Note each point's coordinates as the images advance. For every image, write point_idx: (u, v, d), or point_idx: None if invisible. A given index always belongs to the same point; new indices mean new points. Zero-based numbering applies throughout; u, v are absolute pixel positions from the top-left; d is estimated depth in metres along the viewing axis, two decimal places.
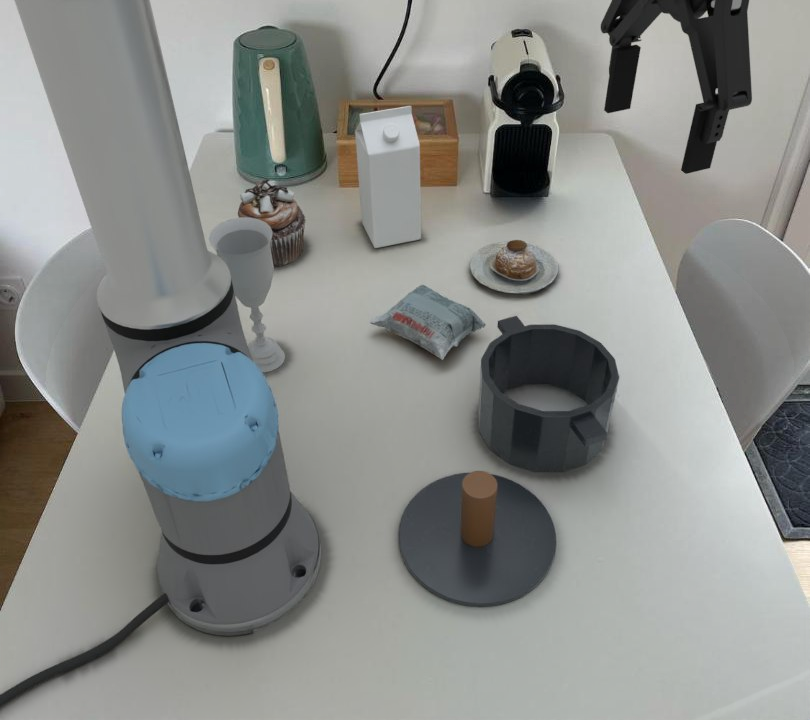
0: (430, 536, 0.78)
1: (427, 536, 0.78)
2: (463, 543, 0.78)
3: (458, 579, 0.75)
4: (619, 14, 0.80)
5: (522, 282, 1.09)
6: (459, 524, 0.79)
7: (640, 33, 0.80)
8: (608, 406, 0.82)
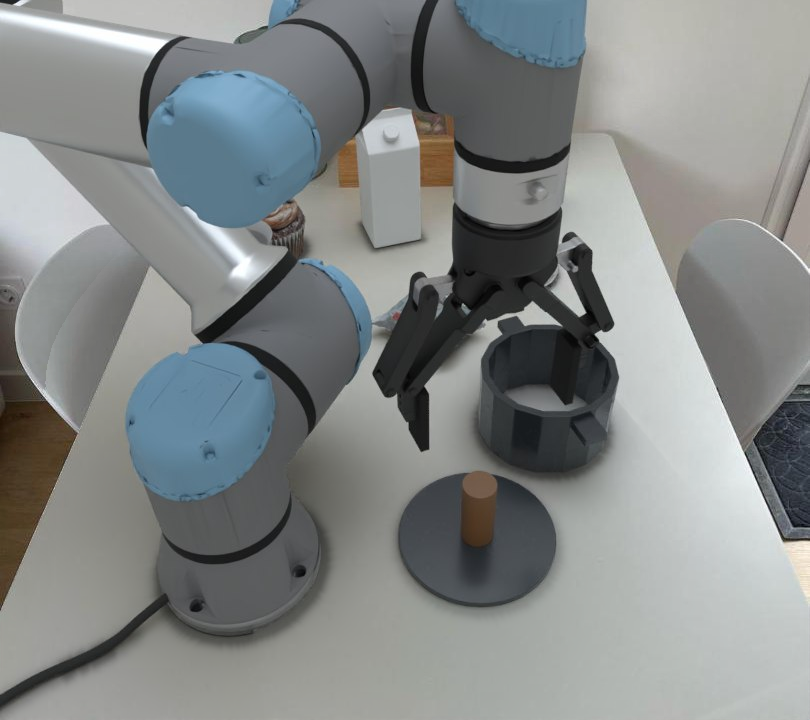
0: (430, 536, 0.78)
1: (427, 536, 0.78)
2: (463, 543, 0.78)
3: (458, 579, 0.75)
4: (583, 302, 0.66)
5: None
6: (459, 524, 0.79)
7: (571, 332, 0.65)
8: (608, 406, 0.82)
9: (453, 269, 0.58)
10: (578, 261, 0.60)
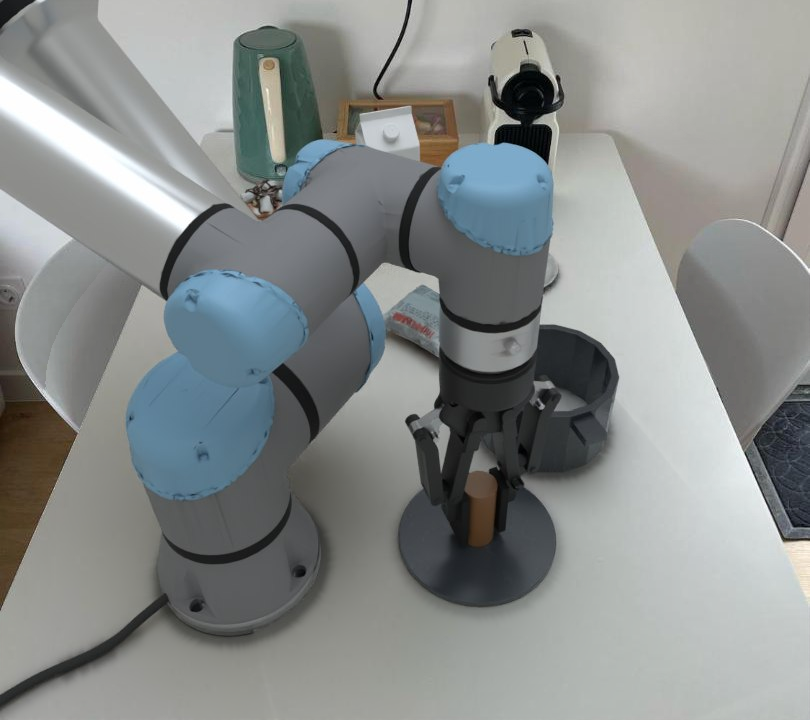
0: (430, 536, 0.78)
1: (427, 536, 0.78)
2: None
3: (458, 579, 0.75)
4: (521, 441, 0.73)
5: None
6: None
7: (505, 469, 0.72)
8: (608, 406, 0.82)
9: (440, 398, 0.65)
10: (547, 401, 0.67)
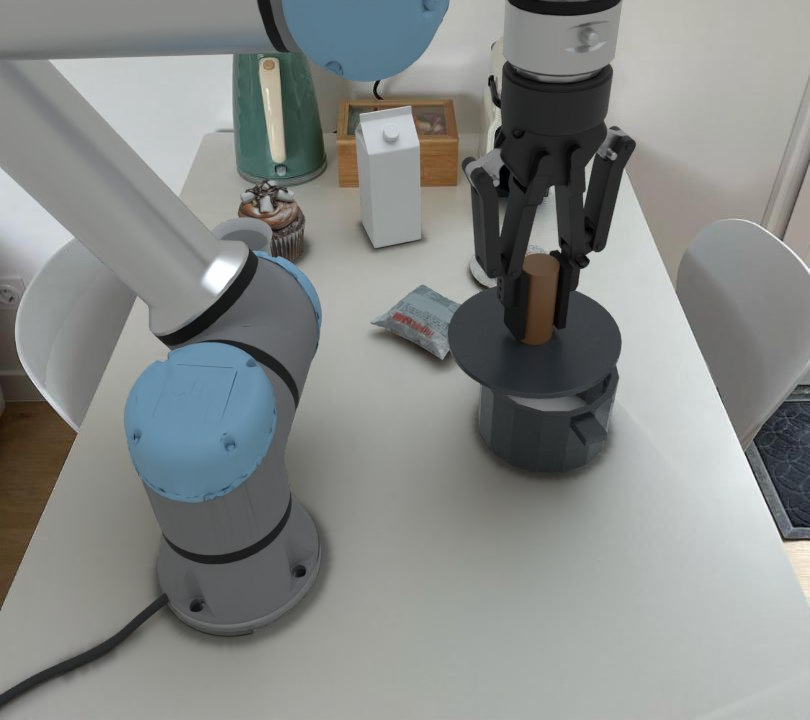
0: (482, 336, 0.72)
1: (479, 336, 0.72)
2: (519, 342, 0.71)
3: (514, 373, 0.68)
4: (587, 213, 0.66)
5: None
6: None
7: (569, 242, 0.65)
8: (608, 406, 0.82)
9: (501, 134, 0.58)
10: (619, 149, 0.60)
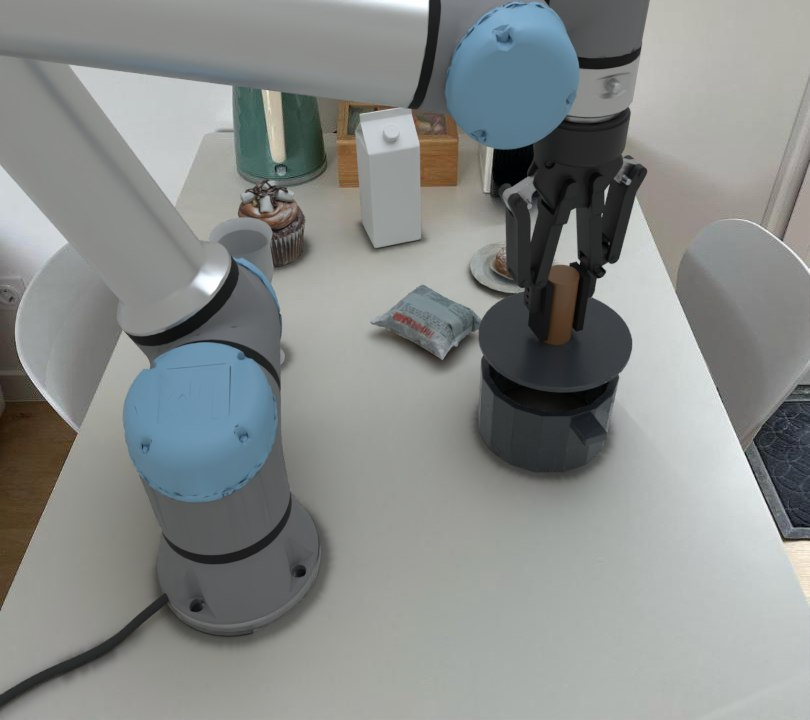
0: (509, 337, 0.81)
1: (506, 337, 0.81)
2: (542, 342, 0.80)
3: (540, 370, 0.77)
4: (603, 230, 0.75)
5: None
6: None
7: (588, 255, 0.74)
8: (608, 406, 0.82)
9: (534, 164, 0.67)
10: (633, 176, 0.70)
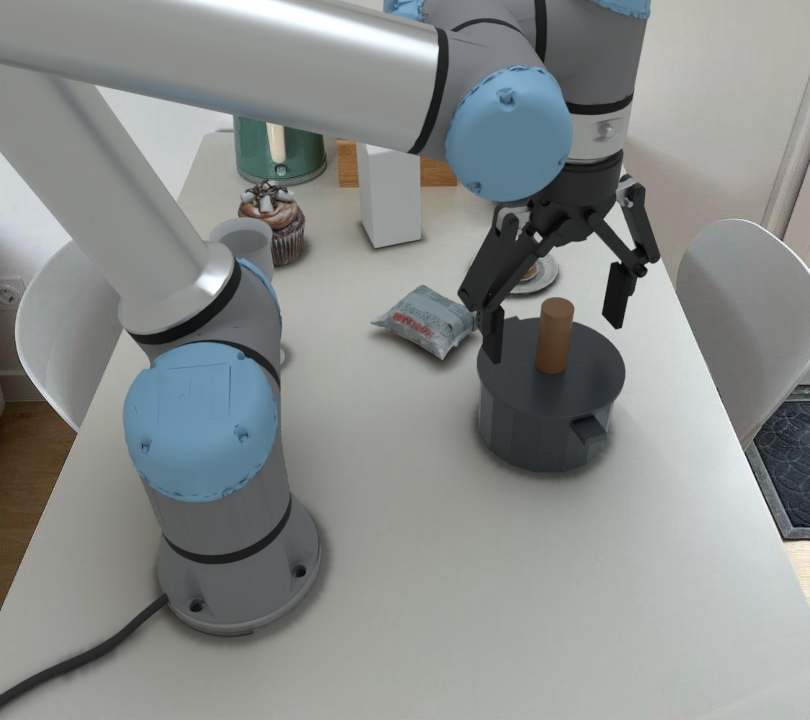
0: (507, 366, 0.84)
1: (504, 366, 0.84)
2: (538, 371, 0.83)
3: (536, 399, 0.80)
4: (634, 237, 0.77)
5: (522, 282, 1.09)
6: (533, 357, 0.84)
7: (624, 263, 0.77)
8: (608, 406, 0.82)
9: (530, 201, 0.70)
10: (633, 198, 0.72)
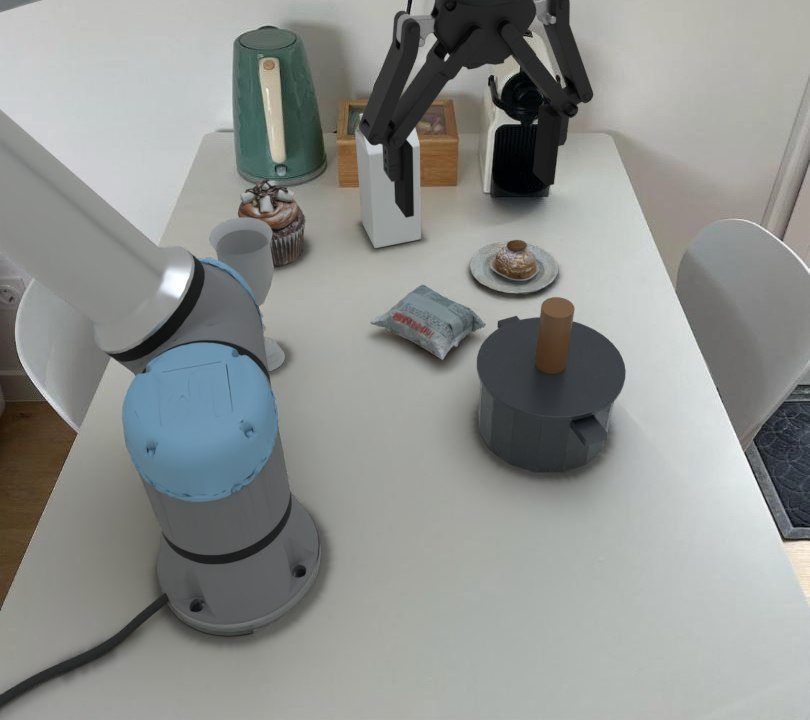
0: (507, 366, 0.84)
1: (504, 366, 0.84)
2: (538, 371, 0.83)
3: (536, 399, 0.80)
4: (563, 72, 0.69)
5: (522, 282, 1.09)
6: (533, 357, 0.84)
7: (551, 99, 0.68)
8: (608, 406, 0.82)
9: (435, 9, 0.61)
10: (555, 11, 0.63)
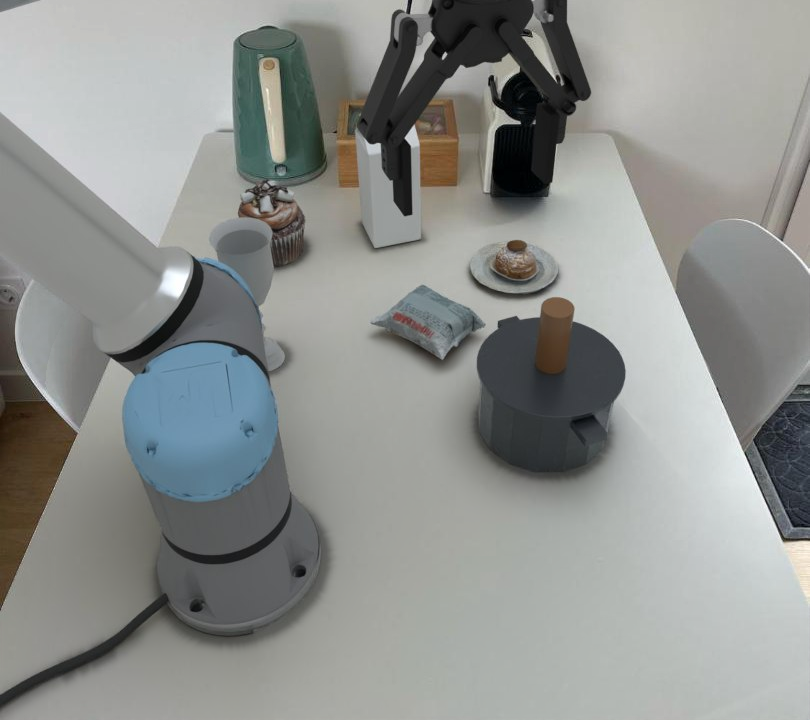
0: (507, 366, 0.84)
1: (504, 366, 0.84)
2: (538, 371, 0.83)
3: (536, 399, 0.80)
4: (561, 70, 0.69)
5: (522, 282, 1.09)
6: (533, 357, 0.84)
7: (548, 97, 0.68)
8: (608, 406, 0.82)
9: (432, 7, 0.61)
10: (553, 9, 0.63)
